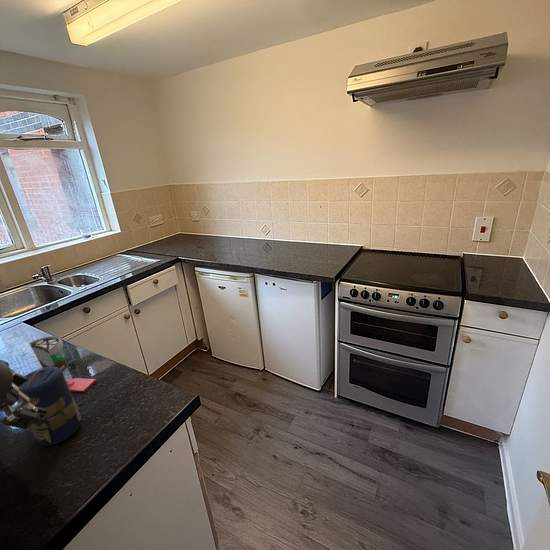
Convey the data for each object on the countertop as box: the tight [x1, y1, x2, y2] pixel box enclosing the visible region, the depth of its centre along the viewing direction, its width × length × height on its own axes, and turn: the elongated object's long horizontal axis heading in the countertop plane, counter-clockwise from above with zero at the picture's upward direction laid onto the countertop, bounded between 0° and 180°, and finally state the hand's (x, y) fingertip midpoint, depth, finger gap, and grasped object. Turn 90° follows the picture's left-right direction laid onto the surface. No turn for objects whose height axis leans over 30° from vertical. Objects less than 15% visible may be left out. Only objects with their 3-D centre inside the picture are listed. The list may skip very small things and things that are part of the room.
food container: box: [29, 336, 68, 373], centre depth 100 cm, size 12×6×10 cm, turn 63°
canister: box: [16, 367, 82, 446], centre depth 72 cm, size 10×10×18 cm
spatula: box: [66, 377, 97, 393], centre depth 92 cm, size 20×5×1 cm, turn 80°
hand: (31, 398), depth 59 cm, fingers open, 8 cm apart
